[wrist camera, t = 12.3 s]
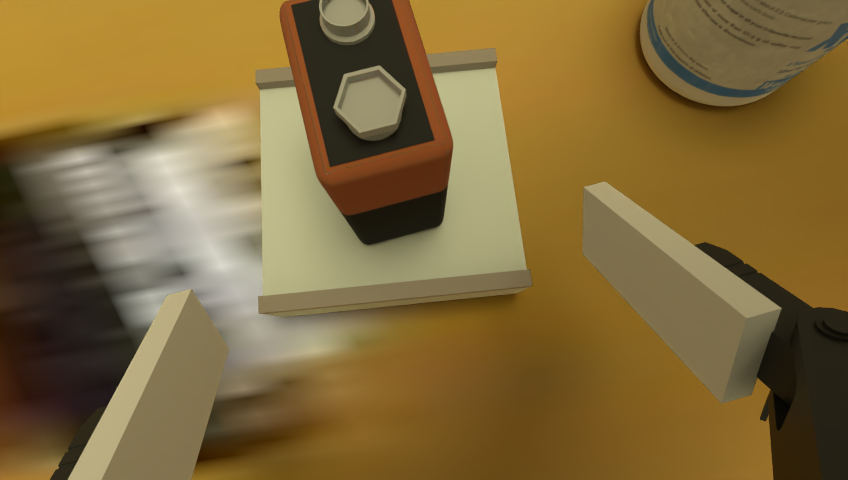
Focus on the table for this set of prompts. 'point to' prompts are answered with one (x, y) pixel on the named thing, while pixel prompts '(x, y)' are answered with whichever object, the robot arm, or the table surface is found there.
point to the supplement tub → (737, 44)
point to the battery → (370, 113)
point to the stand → (404, 256)
